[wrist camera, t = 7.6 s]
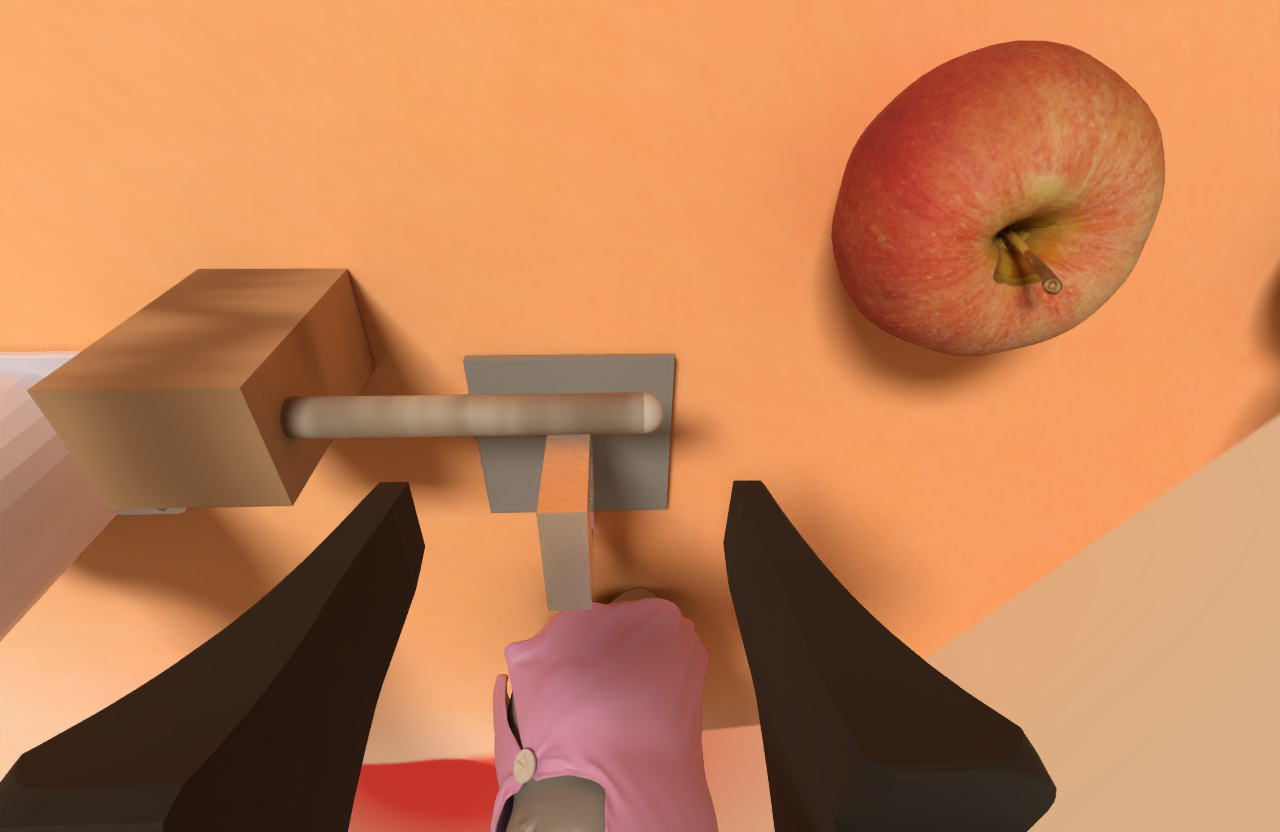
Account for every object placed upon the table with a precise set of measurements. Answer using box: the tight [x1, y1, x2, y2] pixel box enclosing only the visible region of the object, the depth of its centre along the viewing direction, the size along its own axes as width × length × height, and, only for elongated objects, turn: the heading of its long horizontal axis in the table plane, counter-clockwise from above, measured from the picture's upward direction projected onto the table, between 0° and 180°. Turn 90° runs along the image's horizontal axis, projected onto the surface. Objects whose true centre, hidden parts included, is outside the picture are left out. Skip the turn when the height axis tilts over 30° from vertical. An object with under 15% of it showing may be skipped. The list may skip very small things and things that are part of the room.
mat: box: [463, 354, 675, 513], centre depth 25 cm, size 8×8×1 cm
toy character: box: [490, 588, 718, 832], centre depth 25 cm, size 12×10×20 cm
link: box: [537, 434, 595, 611], centre depth 23 cm, size 2×5×6 cm, turn 179°
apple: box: [832, 41, 1165, 356], centre depth 17 cm, size 8×8×8 cm
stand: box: [27, 269, 664, 510], centre depth 19 cm, size 16×4×8 cm, turn 89°
